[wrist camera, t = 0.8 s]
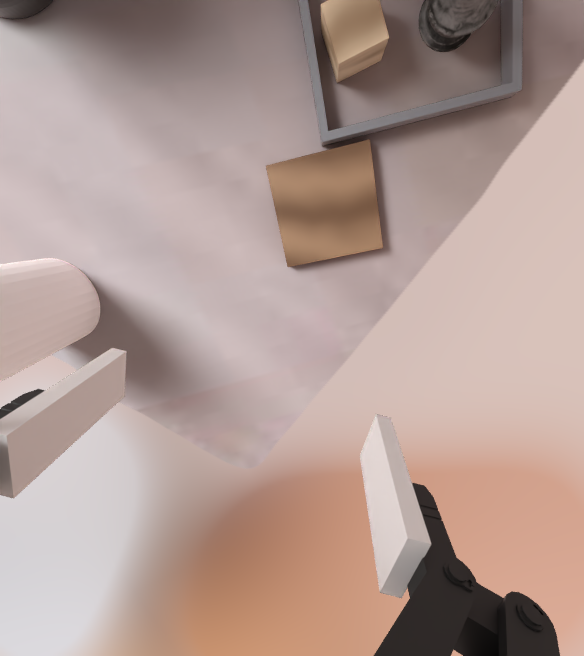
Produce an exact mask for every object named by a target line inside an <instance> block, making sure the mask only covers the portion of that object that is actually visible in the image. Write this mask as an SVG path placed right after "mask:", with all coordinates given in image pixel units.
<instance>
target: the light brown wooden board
mask: <svg viewBox="0 0 584 656" xmlns="http://www.w3.org/2000/svg"><path fill="white" fill-rule="evenodd" d="M266 169H267V173H268V178H269V183H270V187H271V192H272V197H273V201H274V206H275V211H276V215H277V220H278V224H279V229H280V234H281V238H282V243H283V248H284V252H285V257H286V262H287V266H288V267H291V266H296V265H301V264H306V263H311V262H316V261H321V260H326V259H331V258H336V257H341V256H346V255H351V254H356V253H360V252H365V251H370V250H375V249H380V248H383V244H382V236H381V228H380V219H379V211H378V203H377V195H376V186H375V178H374V170H373V162H372V153H371V145H370V139H369V140H365V141H361V142H357V143H353V144H349V145H345V146H341V147H337V148H334V149H330V150H326V151H322V152H318V153H314V154H310V155H306V156H302V157H298V158H295V159H291V160H287V161H283V162H279V163H275V164H271V165H267V166H266Z"/></svg>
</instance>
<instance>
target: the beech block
mask: <svg viewBox="0 0 584 656" xmlns="http://www.w3.org/2000/svg"><path fill="white" fill-rule="evenodd" d="M321 33H322V36H323V39H324V42H325V46H326V49H327V52H328V55H329V59H330V62H331V65H332V68H333V72H334V75H335V78H336V81H337V83H338V82H340V81H342V80H344V79H346V78H348V77H350V76H352V75H354V74H356V73H358V72H360V71H362V70H364V69H366V68H368V67H370V66H371V65H373V64H375V63H377V62H379V61H381V59H382V56H383V53H384V50H385V48H386V45H387V42H388V39H389V35H388V31H387V27H386V23H385V19H384V16H383V12H382V8H381V4H380V0H328V1H326V2H324V3H322V4H321Z"/></svg>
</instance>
